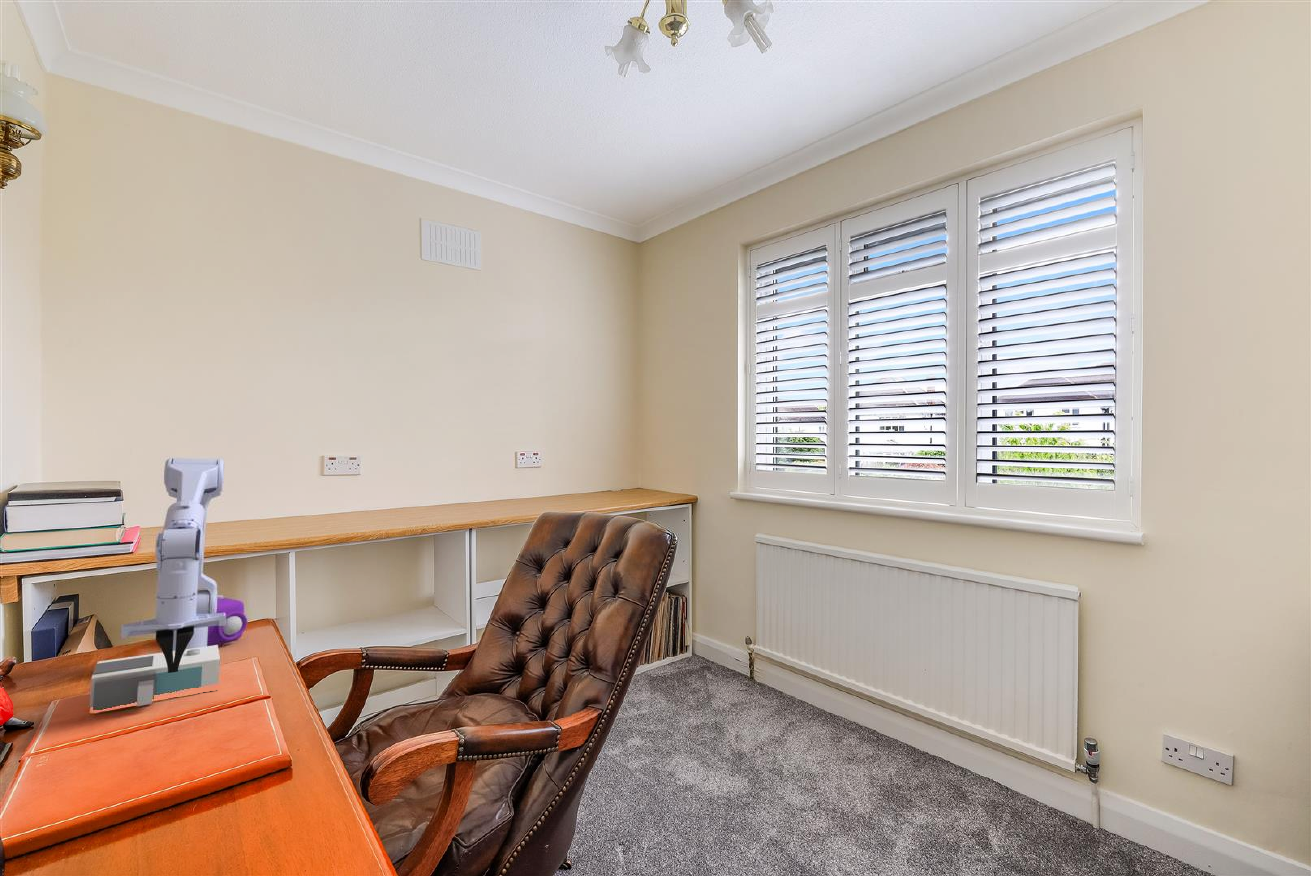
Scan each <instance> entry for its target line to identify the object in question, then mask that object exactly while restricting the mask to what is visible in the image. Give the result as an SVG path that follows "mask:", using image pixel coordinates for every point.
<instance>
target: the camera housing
mask: <svg viewBox="0 0 1311 876" xmlns="http://www.w3.org/2000/svg"><path fill="white" fill-rule="evenodd" d="M174 656H175V651H173V662H174ZM220 667H221V658H220V651H219V644H217V645H213V646H206V647H199V648H192V649H185V651H184V653H183V655H182V658H181V661H180V664H179V668H178V672H173V673H168V667H167V663H166V659H165V656H164V654H163V652H156V653H149V654H143V655H136V656H128V657H121V658H114V659H107V660H100V661H97V663H96V664H95V667H94V669H93V673H92V675H91V679H90V693H89V708H91V707H93V700H94V684H95V681H100V680H106V679H113V678H119V677H126V676H132V675H139V674H145V673H152V672H156V676H155V693H154V695H160V694H164V693H172V692H175V691H176V692H177V691H180V690H184V689H190V688H199V687H203V686H209V685H213V684H219V685H220V682H219V681H220Z"/></svg>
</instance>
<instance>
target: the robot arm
mask: <svg viewBox="0 0 1311 876" xmlns="http://www.w3.org/2000/svg"><path fill="white" fill-rule="evenodd" d="M163 472H164V473H163V483H164V485H165V490H166V492H167V493H168V496H169V497H171V498H173V499H176V502H174V503H173V504H171V505H170V506H169V507H168V508H167V509H166V510H167V511H166V516H165V520H164V525H163V529H162V532H158V533H157V535H156V540H155V548H154V549H155V552H154V553H155V560H156V572H158V573H157V585H156V587H157V588H156V602H155V618H153V619H148V620H143V621H142V620H141V621H137V622H130V623H123V624H122V625H121V627H120V628H121V630H120V631H121V633H120V639H124V638H125V639H126V638H129V637H134V636H141V635H142V636H143V635H148V634H155V640H156V642H157V644H158V646H159V648H160V650H161V651H162V652H161V653H163V654H164V656H165V659H166V663H167V667H168V673H173V672H178V668H179V664H180V661H181V658H182V655H183V653H184V651H185V649H192V648H199V647H206V646H207V637H208V626H216V625H218V626H224V625H225V620H226V614H225V613H216V610H217V596H218V583H217V582H216V580H214V579H213V578H212V577H209V576H207V575H206V574H204V573H203V572H204V560H205V559H204V557H205V556H204V555H205V543H206V542H205V541H206V540H205V539H206V529H207V528H206V527H207V526H206V525H207V511H208V506H209V505H210V502H211V500H213V499H215V498H217V497H220V496H221V495H222V494H221V493H222V492H223V489H224V488H223V486H224V479H225V477H224V476H225V460H223V459H222V458H218V459H217V458H180V457H179V458H177V457H169V458H168V459H166V460H165V463H164V470H163ZM200 589H201V590H200ZM173 651H175V656H174V662H173Z"/></svg>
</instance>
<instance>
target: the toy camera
mask: <svg viewBox="0 0 1311 876" xmlns="http://www.w3.org/2000/svg"><path fill="white" fill-rule="evenodd" d="M216 613H225V614H226V620H225V625H224V626H218V625H216V626H208V637H207V646H213V645H221V644H224V643H229V642H231V641H235V640H237V639H240V638H241V637H242V635H243V633H244V632H245V630H246V628H247V626H248V618H247V616H246V614H245V605H244V602H243V601H241V600H238V599H233V598H229V597H224V595H223V594H221V595H219V594H217V610H216Z"/></svg>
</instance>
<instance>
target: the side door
mask: <svg viewBox="0 0 1311 876" xmlns="http://www.w3.org/2000/svg"><path fill="white" fill-rule="evenodd" d="M155 676H156V672H152V673H145V674H139V675H132V676H126V677H119V678H113V679H106V680H100V681H95V684H94V700H93V710H103V709H107V708H112V707H116V706H120V705H127V704H131V703H135V702H137V706H136V707H140V706H145V705H146V706H147V705H152V704H153V703H152V699H154V693H155Z"/></svg>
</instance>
